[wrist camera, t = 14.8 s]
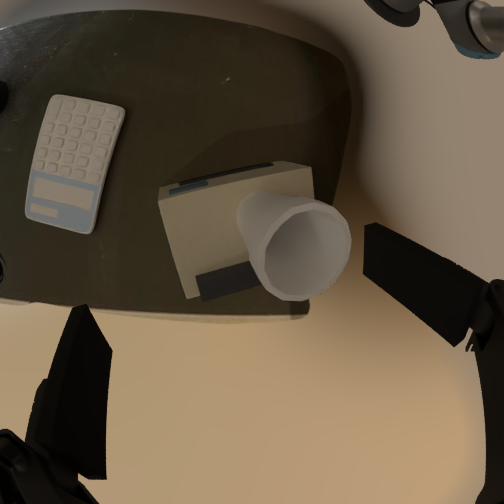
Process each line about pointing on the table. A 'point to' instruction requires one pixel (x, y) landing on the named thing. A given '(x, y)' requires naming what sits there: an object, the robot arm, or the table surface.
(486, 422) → the robot arm
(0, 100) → the potion bottle
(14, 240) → the table surface
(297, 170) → the printer
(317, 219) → the foam cup
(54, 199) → the calculator
